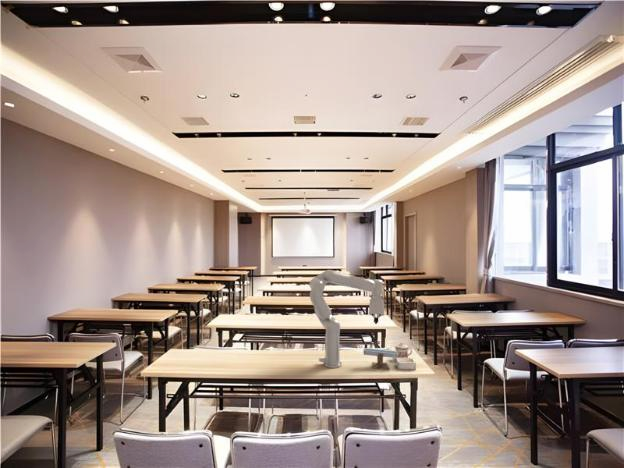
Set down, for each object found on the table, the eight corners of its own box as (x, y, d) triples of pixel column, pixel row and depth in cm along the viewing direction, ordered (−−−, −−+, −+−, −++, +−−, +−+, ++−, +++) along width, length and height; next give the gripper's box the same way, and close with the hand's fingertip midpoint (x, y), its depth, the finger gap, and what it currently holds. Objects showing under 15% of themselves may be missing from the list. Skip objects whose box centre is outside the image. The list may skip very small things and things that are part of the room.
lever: (363, 354, 242) (364, 350, 242) (362, 348, 255) (363, 344, 255) (397, 358, 240) (397, 353, 240) (394, 352, 253) (395, 348, 253)
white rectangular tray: (398, 369, 238) (398, 362, 238) (396, 364, 247) (396, 357, 247) (415, 369, 237) (415, 362, 237) (413, 364, 246) (413, 358, 246)
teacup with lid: (397, 361, 253) (397, 344, 253) (393, 357, 262) (393, 341, 262) (414, 360, 254) (414, 344, 254) (409, 356, 263) (409, 340, 263)
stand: (373, 369, 239) (373, 354, 239) (372, 363, 250) (371, 349, 250) (388, 369, 238) (388, 354, 238) (386, 363, 249) (386, 349, 249)
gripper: (366, 297, 252) (365, 324, 252) (388, 298, 250) (387, 325, 250) (365, 295, 259) (365, 321, 259) (387, 297, 258) (386, 322, 257)
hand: (375, 323), depth 255 cm, fingers closed
